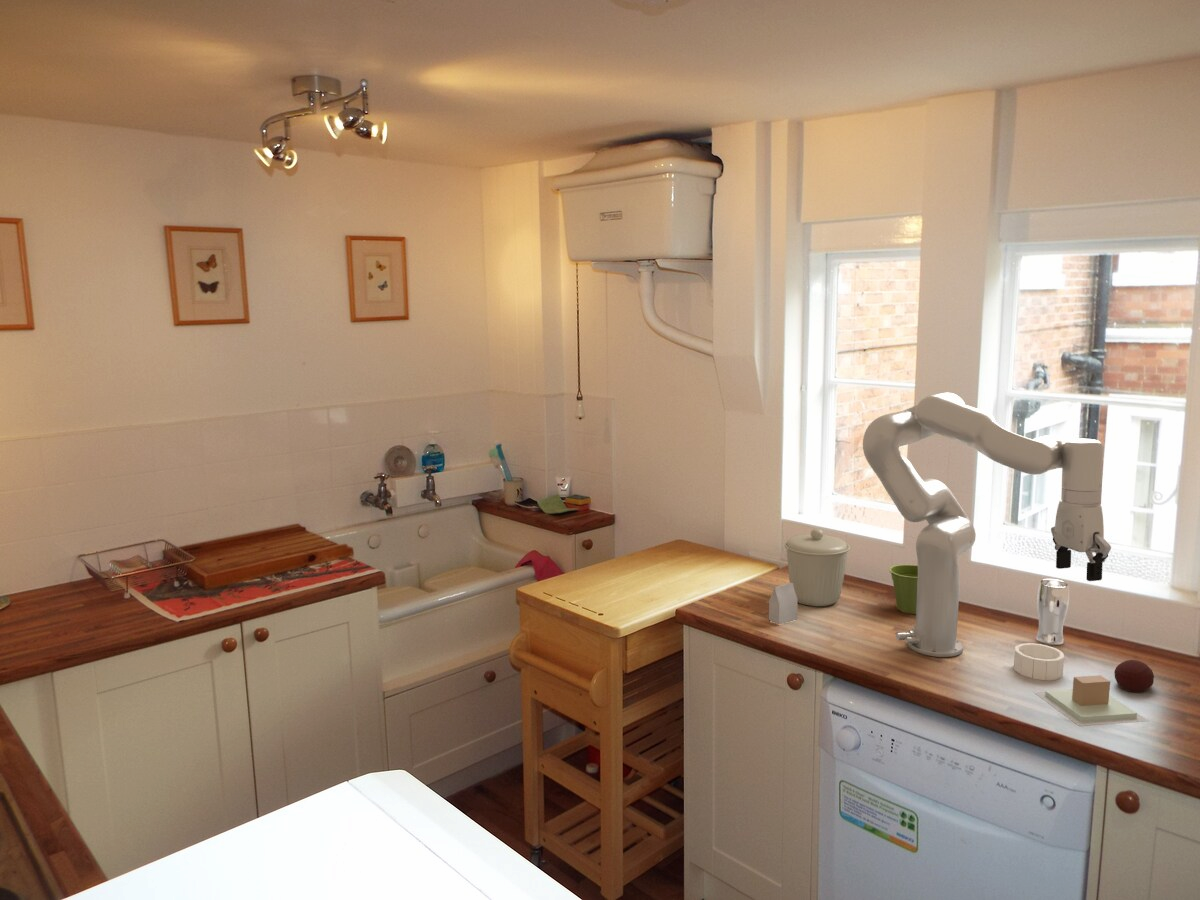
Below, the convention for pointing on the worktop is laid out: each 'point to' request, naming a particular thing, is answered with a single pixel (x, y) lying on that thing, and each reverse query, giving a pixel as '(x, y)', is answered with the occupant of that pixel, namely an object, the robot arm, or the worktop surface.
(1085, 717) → the board
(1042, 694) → the mat
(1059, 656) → the bowl
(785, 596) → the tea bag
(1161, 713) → the worktop surface
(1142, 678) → the potato
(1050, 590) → the beer glass
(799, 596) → the canister
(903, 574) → the plant pot
